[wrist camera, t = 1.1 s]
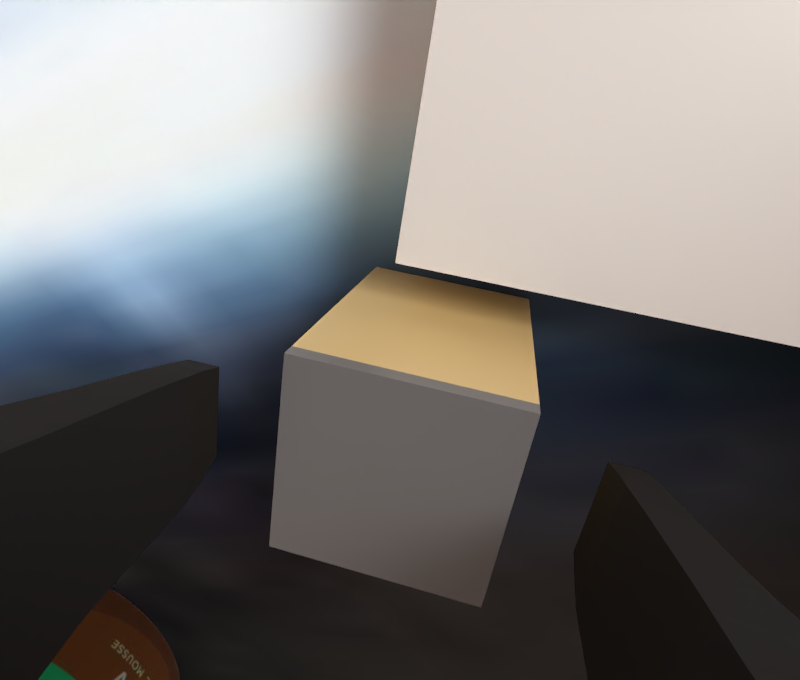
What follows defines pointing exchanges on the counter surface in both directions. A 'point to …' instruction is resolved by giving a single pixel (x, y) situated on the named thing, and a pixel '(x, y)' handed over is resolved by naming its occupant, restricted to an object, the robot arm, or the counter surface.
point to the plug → (407, 432)
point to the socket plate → (616, 156)
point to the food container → (114, 646)
